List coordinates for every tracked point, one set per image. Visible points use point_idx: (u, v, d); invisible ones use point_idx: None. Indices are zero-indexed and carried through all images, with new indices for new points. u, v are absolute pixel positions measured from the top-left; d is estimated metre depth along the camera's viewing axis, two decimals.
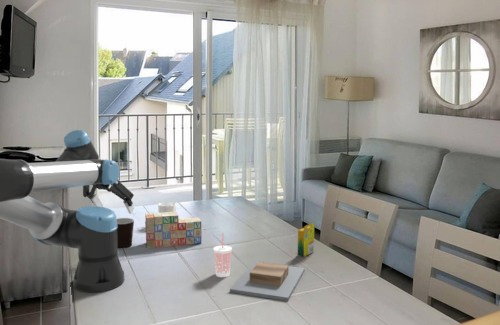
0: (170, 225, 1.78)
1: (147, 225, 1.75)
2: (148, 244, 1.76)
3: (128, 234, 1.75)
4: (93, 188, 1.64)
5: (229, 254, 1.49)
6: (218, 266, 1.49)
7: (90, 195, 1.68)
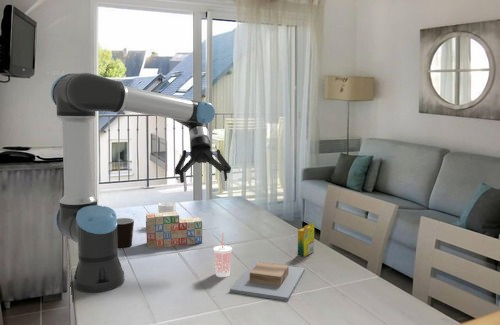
0: (171, 225, 1.78)
1: (148, 225, 1.75)
2: (149, 244, 1.77)
3: (128, 234, 1.75)
4: (194, 156, 1.67)
5: (229, 254, 1.49)
6: (218, 266, 1.49)
7: (184, 167, 1.64)
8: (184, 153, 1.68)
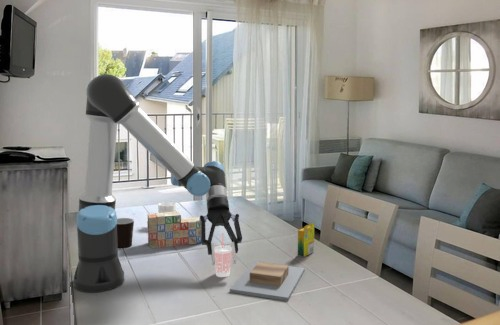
0: (173, 225, 1.78)
1: (150, 225, 1.75)
2: (151, 244, 1.77)
3: (128, 234, 1.75)
4: (214, 220, 1.54)
5: (229, 254, 1.49)
6: (218, 266, 1.49)
7: (210, 237, 1.50)
8: (202, 219, 1.54)
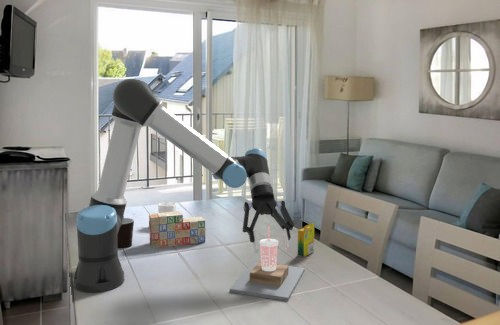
0: (174, 225, 1.78)
1: (152, 225, 1.75)
2: (153, 244, 1.77)
3: (128, 234, 1.75)
4: (259, 208, 1.48)
5: (276, 247, 1.44)
6: (265, 260, 1.43)
7: (253, 224, 1.45)
8: (247, 206, 1.48)
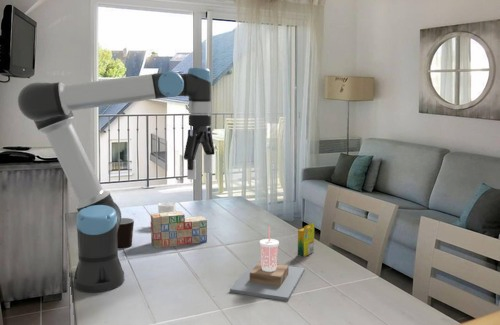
0: (176, 224, 1.79)
1: (154, 225, 1.76)
2: (155, 244, 1.77)
3: (128, 234, 1.75)
4: (201, 139, 1.54)
5: (276, 248, 1.44)
6: (265, 260, 1.43)
7: (195, 154, 1.51)
8: (195, 134, 1.50)
